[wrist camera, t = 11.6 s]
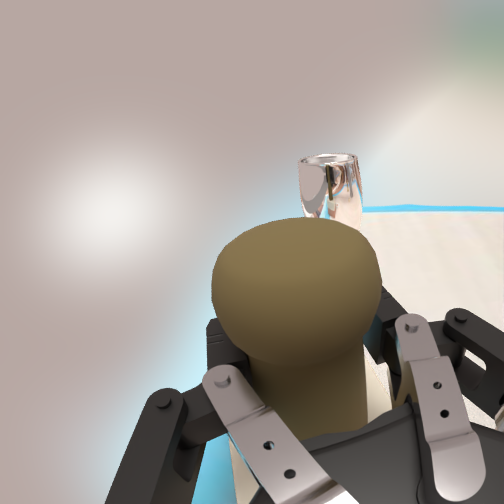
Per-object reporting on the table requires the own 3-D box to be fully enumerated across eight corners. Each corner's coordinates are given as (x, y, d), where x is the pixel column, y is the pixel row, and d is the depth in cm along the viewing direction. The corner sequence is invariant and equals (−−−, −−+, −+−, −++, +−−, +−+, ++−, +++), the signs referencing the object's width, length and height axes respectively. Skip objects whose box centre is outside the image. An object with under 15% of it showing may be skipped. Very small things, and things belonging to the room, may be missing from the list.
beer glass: (356, 297, 32) (350, 163, 26) (301, 288, 36) (284, 165, 30) (369, 267, 37) (364, 152, 31) (321, 261, 41) (309, 153, 35)
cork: (233, 466, 12) (140, 281, 7) (275, 382, 17) (239, 202, 12) (354, 492, 9) (403, 303, 5) (376, 395, 14) (394, 198, 9)
